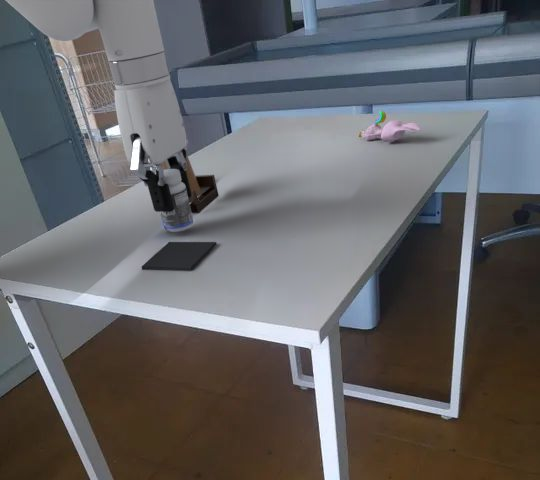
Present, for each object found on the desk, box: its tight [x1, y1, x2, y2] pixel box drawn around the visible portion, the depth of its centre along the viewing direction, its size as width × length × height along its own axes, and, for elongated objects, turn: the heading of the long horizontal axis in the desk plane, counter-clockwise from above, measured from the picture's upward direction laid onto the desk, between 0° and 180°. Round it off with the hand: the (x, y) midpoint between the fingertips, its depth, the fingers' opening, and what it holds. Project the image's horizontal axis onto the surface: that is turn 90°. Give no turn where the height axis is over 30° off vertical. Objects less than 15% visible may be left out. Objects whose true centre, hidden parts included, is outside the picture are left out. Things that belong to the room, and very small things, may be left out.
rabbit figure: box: [357, 110, 422, 144], centre depth 105 cm, size 6×6×15 cm
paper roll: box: [163, 153, 203, 200], centre depth 92 cm, size 14×6×6 cm
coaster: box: [141, 241, 217, 272], centre depth 78 cm, size 8×8×1 cm
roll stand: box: [188, 174, 219, 214], centre depth 95 cm, size 8×8×4 cm
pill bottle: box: [154, 169, 194, 233], centre depth 83 cm, size 5×5×8 cm
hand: (173, 202), depth 83 cm, fingers closed on pill bottle, 4 cm apart
